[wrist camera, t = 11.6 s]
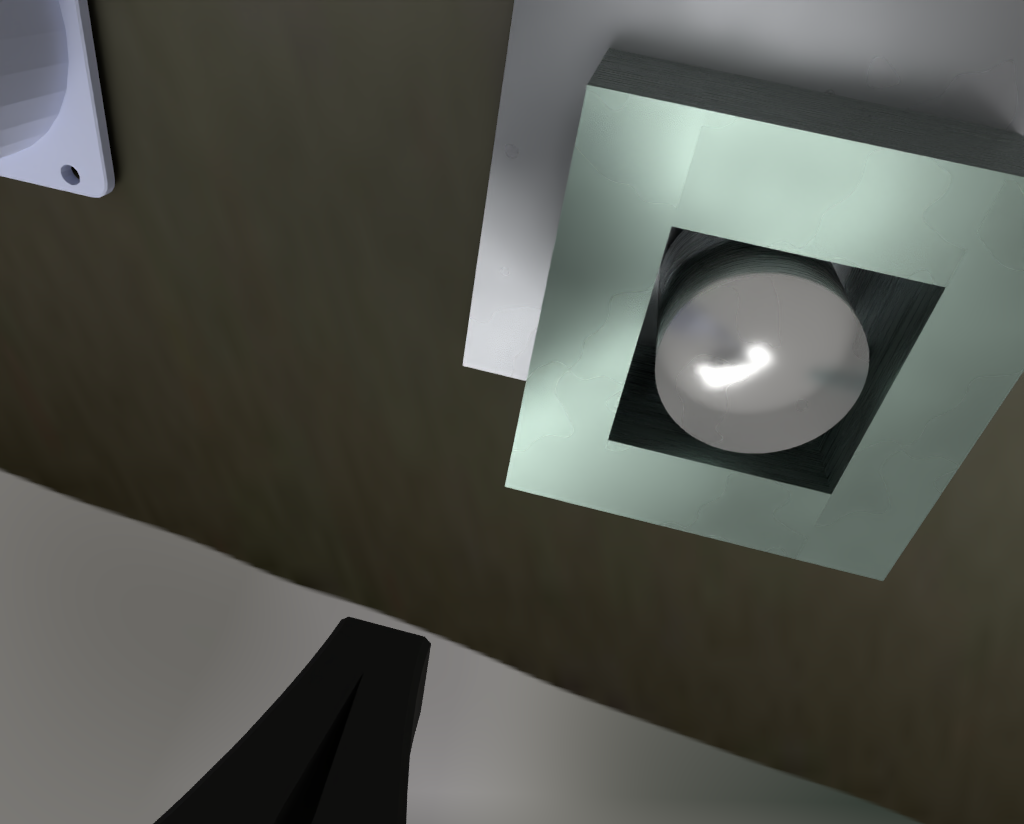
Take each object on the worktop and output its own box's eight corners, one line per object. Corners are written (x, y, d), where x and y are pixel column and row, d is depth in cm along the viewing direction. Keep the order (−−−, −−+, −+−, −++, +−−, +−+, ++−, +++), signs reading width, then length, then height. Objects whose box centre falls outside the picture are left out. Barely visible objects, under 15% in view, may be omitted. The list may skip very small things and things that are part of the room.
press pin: (640, 334, 17) (632, 428, 14) (685, 185, 15) (688, 254, 12) (791, 369, 17) (818, 472, 14) (856, 222, 15) (908, 303, 12)
